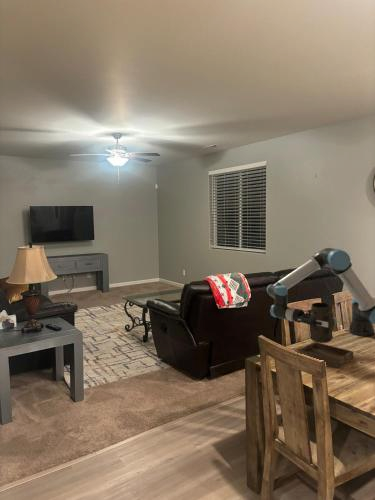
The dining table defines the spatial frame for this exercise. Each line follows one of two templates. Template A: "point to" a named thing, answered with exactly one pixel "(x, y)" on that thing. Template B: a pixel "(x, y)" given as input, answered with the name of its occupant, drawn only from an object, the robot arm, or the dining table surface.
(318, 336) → the beer stein
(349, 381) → the dining table surface
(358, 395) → the dining table surface
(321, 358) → the walnut tray
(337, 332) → the dining table surface
